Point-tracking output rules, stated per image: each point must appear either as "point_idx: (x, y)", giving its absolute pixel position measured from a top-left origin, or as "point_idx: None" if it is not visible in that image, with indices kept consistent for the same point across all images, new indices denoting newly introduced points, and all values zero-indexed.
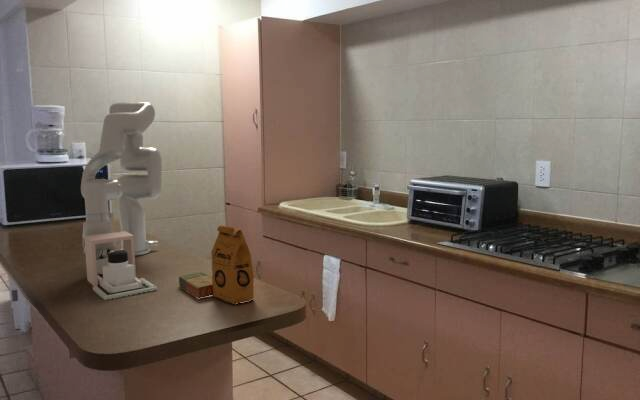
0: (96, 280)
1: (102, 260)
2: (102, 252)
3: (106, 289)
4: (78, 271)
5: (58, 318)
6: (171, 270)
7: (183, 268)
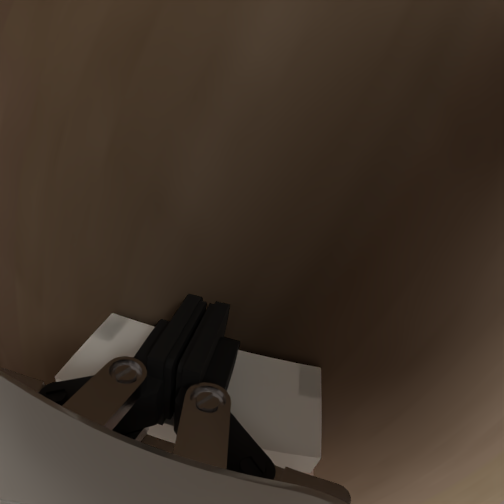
0: None
1: (173, 435)
2: (192, 433)
3: None
4: (96, 142)
5: None
6: (448, 481)
7: (483, 476)
